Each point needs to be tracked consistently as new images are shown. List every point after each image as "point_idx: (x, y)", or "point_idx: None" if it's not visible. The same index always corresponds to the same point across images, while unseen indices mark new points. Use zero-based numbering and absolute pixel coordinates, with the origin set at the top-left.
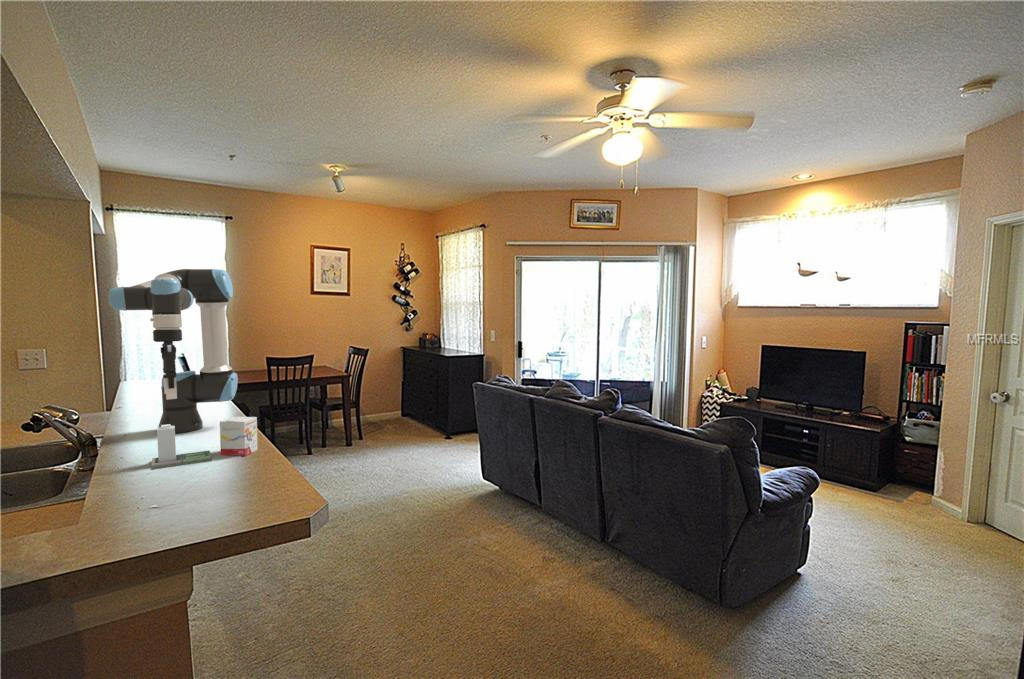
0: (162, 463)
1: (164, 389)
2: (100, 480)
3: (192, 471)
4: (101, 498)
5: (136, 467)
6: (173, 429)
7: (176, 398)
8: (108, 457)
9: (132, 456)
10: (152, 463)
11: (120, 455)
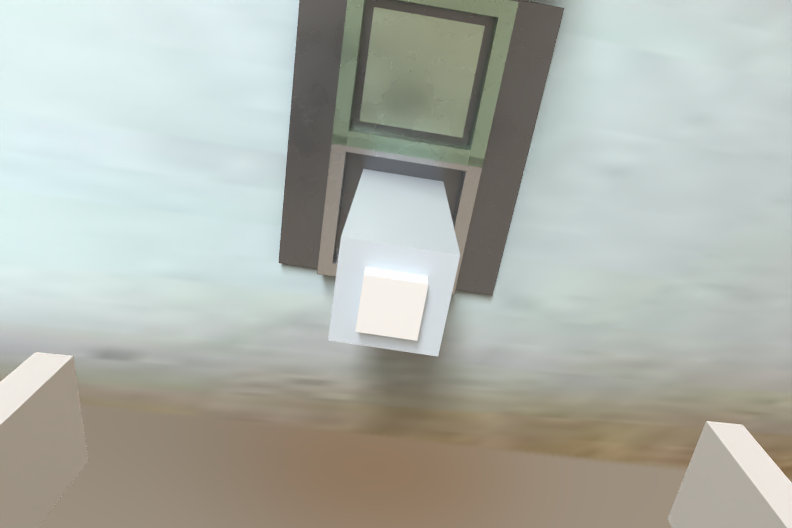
0: (462, 249)
1: (44, 511)
2: (475, 443)
3: (658, 138)
4: None
5: None
6: (458, 258)
7: (743, 432)
8: None
9: (116, 318)
10: None
11: None
